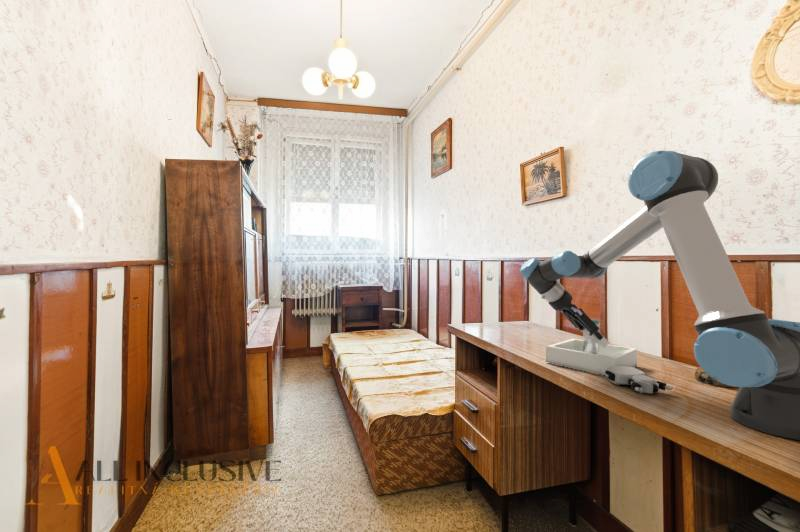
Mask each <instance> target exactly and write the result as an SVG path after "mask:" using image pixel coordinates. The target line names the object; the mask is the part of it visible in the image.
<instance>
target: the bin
mask: <svg viewBox="0 0 800 532" xmlns="http://www.w3.org/2000/svg"><path fill="white" fill-rule="evenodd" d="M546 362H549V363H553V364H558V365H562V366H566V367H569V368H568V369H571V368H573V369H572V370H575V369H577V370H576V371H580V370H582V371H581V372H584V371H586V372H585V373H589V372H591V373H590V374H594V373H597V374H596V375H598V374H601V375H600V376H603V375H605V374H604V373H605V369H606V368H607V367H611V366H627V367H635V368H636V367H637V366H638V349H637V348H635V347H627V346H622V345H621V346H620V345H614V344H610V343H609V344H608V345H607V346H606V347H605V348H603V347H602V346H601V345H600V344H599V355H598V354H593V353H587V352H583V339H577V338H570V339H566V340H563V341H560V342H557V343H552V344H549V345H546V346H545V363H546ZM562 366H561V367H562ZM566 367H565V368H566ZM598 368H600V369H601V370H602V371H603V372H604V373H602V372H601V371H600V370H599V369H598Z"/></svg>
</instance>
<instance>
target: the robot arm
mask: <svg viewBox="0 0 800 532" xmlns="http://www.w3.org/2000/svg"><path fill="white" fill-rule="evenodd" d="M627 180H628V181H627V185H628V190H629V192H630V194H631V195H632V196H633V197H635V198H636V199H638V200H641V201H643V202H644V206H643V207H642V208H641V209H640V210H638V211H637V212H636V213H634V214H633V215H632V216H631V217H629V218H628V219H627V220H626V221H625V222H623V223H622V224H621V225H619V226H618V227H617V228H615V230H613V231H612V232H611V233H610V234H609V235H606V237H604V239H602V240H601V241H599V242H598V243H597V244H596V245H595V246H594V247H592V248H591V249H589V250H588V251H587V252H586V253H584V254H582V255H578V254H576V253H575V252H573V251H572V250H565V251H562V252H559V253H556V254H555V255H553V256H550V257H549V258H547V259H545V260H542V261H540V260H539V259H537V258H536V257H533V258H530V259H528V260H527V261H526V262H524V263H523V264H522V266H521V267H520V268H519V273H520V275H521V276H522V277H523V278H524V280H525V281H527V283H529V285H530V286H531V287H533V289H534V290H535V291H536V292H537V293H538V294H539V295H541V299H542V300H545V302H547V303H548V305H550V307H551V308H552V309H553V310H555V311H559V313H561V314H562V315H563V316H564V317H565V318H566V320H568V321H569V323H571V324H572V325H573V327H574V328H575V329H578V330H579V331H581V333H583V327H585V328H586V329H587V330H588V331H589V332H590V334H589V335H590V336H592V337H593V338H594V339H595V340H596V341H597V342H598V343H599V344H600V345H601V346H602V347H603V348H605V347H606V346H607V345H608V344H610V343H611V342H610V341H609V340H608V339H607V338H606V337H605V336H604V334H602V332H600V326H599V327H598V326H597V325H596V324H595V323H594V322H593V321H592V320H591V319H592V318H590V317H589V316H588V315H587V314H586V313H585V310H583V309H582V308H578V306H577V305H576V304H573V303H572V300H573V296H572V294H571V293H570V292H569V291H568V290H567V289H565V287H564V286H563V284H561V282H560V281H559V280H560V279H591V280H593V279H597V278H601V277H603V276H605V274H606V272H607V270H608V267H609V266H610V265H612V264H614V262H616V261H617V260H619V259H620V258H621V257H623V256H624V255H626V254H627V253H628V252H630V251H631V250H634V248H636V247H637V246H638V245H640V244H642V243H643V242H644V241H647V239H649V238H650V237H651V236H653V235H654V234H655V233H657V232H659V231H660V230H661V229H662V228H663V231H664V233H665V235H666V238H667V240H668V243H669V245H670V248H671V250H672V252H673V255H674V257H675V259H676V262H677V265H678V267H679V270H680V272H681V274H682V277H683V280H684V282H685V285H686V286H687V289H688V291H689V294H690V297H691V299H692V301H693V304H694V305H695V308H696V310H697V313H698V317H697V319H696V321H694V324H693V325H694V328H695V331H696V333H697V338H696V341H695V343H694V344H693V354H694V355H693V356H694V358H695V360H696V363H697V365H699V366H700V367H701V368H702V369H703V370H704V372H706V373H707V374H708V375H709V376H710V377H712V378H714V379H716V380H717V381H719V382H721V383H723V384H726V385H729V386H734V387H733V388H738V390H737V392H736V394H735V397H734V398H733V400H732V402H731V404H730V410H729V411H730V413H729V415H730V417H731V419H733V421H736V422H738V423H739V424H741V425H743V426H745V427H748V428H750V429H753V430H755V431H758V432H762V433H766V434H769V435H774V436H777V437H781V438H785V439H791V440H796V441H800V322H799V321H789V320H784V319H772V318H768V316H767V314H766V312H765V311H763V310H762V309H759V308H756V307H754V306H752V305H751V303H750V300H749V299H748V297H747V295H746V293H745V291H744V288H743V287H742V284H741V282H740V279H739V278H738V275H737V273H736V271H735V269H734V267H733V264H732V262H731V260H730V258H729V256H728V254H727V252H726V250H725V248H724V245H723V244H722V241H721V239H720V237H719V235H718V232H717V230H716V228H715V226H714V223H713V222H712V219H711V217H710V214H709V213H708V211H707V208H706V207H705V203H706V201H707V200H709V199H710V197H711V196H712V195H713V194H714V192H715V191H716V189H717V186H718V184H719V173H718V170H717V168H716V167H715V165H714V164H712V162H710V161H709V160H707V159H704V158H702V157H698V156H692V155H688V154H684V153H681V152H680V153H679V152H677V151H673V150H654V151H652V152H650V153H647V154H646V155H644V156H643V157H641V158H640V159H639V160H638V161H637V162H636V163H635V164H634V165H633V168H632V170H631V172H630V173H629V175H628V178H627ZM598 330H599V331H598ZM699 366H698V367H699Z"/></svg>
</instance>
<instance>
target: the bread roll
mask: <svg viewBox="0 0 800 532" xmlns="http://www.w3.org/2000/svg"><path fill="white" fill-rule="evenodd" d="M694 378H695V379H696V381H697V382H700V383H703V384H704V385H705V384H706V385H709V386H714V387H720V386H721V387H722V388H735V387H734V386H729V385H726V384H723V383H721V382H719V381H717V380H716V379H714V378H712V377H710V376H709V375H708V374H707V373H706V372H704V370H703V369H702V368H701V367H700V366H698V367H697V368H696V369H695V372H694ZM721 387H720V388H721Z"/></svg>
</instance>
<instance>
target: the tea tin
mask: <svg viewBox="0 0 800 532" xmlns="http://www.w3.org/2000/svg"><path fill="white" fill-rule="evenodd" d="M590 319H591V320H592V321H593V322H594V323H595V324H596V325H597V326H598V327H599V328H600V325H601V324H600V323H601V320H600V319H597V318H590ZM598 331H599V332H600V329H599V330H598ZM582 334H583V335H582V337H583V338H582V340H583V352H587V353H593V354H598V355H599V343H598V342H597V341H596V340H595V339H594V338H593V337H592V336H590V335H589V334H590V332H589V331H588V330H587V329H586V328H585V327H583V332H582Z"/></svg>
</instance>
